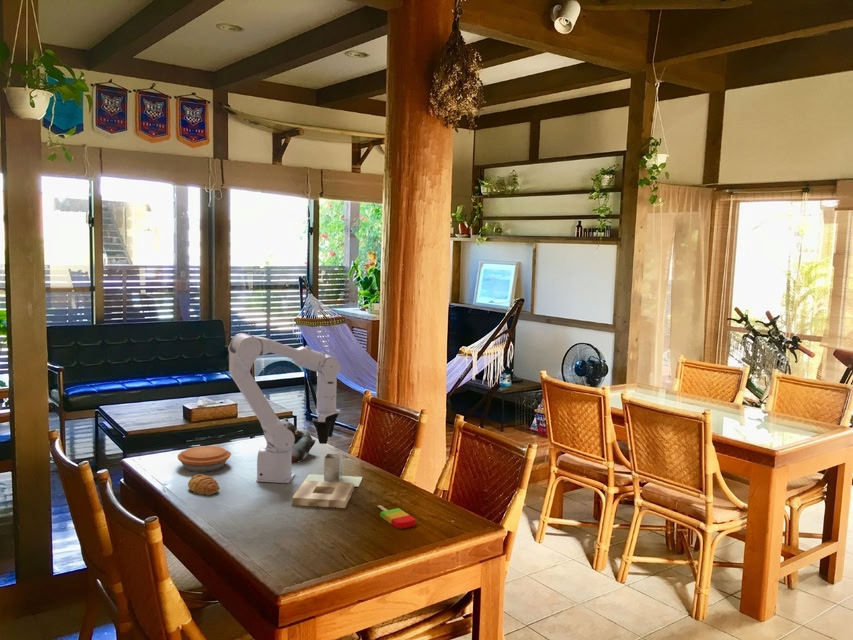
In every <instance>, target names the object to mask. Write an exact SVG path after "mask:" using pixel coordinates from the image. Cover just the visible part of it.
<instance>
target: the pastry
mask: <svg viewBox="0 0 853 640" xmlns="http://www.w3.org/2000/svg"><path fill="white" fill-rule="evenodd" d="M187 487H188V488H189V490H190V491H191V492H192V491H193V492H192V493H195V492H197V494H198V493H201V494H200V495H202V494H206V495H207V496H210V495H213V494H216V493H219V491H220V486H219V483H218V482H217V480H216V479H214V477H212V476H210V475H205V474H201V473H199V474H195V475H194V476H193V477H191V478H190V479H189V481H188V483H187ZM206 495H205V496H206Z"/></svg>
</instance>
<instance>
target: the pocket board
mask: <svg viewBox="0 0 853 640" xmlns="http://www.w3.org/2000/svg"><path fill="white" fill-rule="evenodd" d="M354 490H355V489H354V483H345V482H326V481H307V480H305V479H304V480H303V482H302V483H301V484H300V486H299V487H298V488H297V490H296V492H295V493H294V494H293V496H292V497H291V505H292V506H300V507H301V506H302V507H317V506H319V508H321V507H322V508H323V507H324V508H335V507H336V508H338V509H346V507H347V505H348V503H349V501H350V499H351V496H352V495H353V493H354ZM352 492H353V493H352ZM351 494H352V495H351Z"/></svg>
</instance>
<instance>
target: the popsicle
mask: <svg viewBox="0 0 853 640" xmlns="http://www.w3.org/2000/svg"><path fill="white" fill-rule="evenodd" d="M377 508H378V509H380V510H381V511H380V513H379V516H380V518H382V519H383V520H384V521H386V522H388V523H389V524H390V525H391V526H392V527H395V528H397V529H407V528H411V526H412V527H415V526H416V525H417V519H416V518H415V517H413V516H412V515H410V514H409V513H407V512H405V511H404V510H402V509H401V508H399V507H397V508H392V509H387V508H385V507H384V506H382V505H381V504H380V505H377Z"/></svg>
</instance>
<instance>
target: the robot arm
mask: <svg viewBox="0 0 853 640" xmlns="http://www.w3.org/2000/svg"><path fill="white" fill-rule="evenodd" d="M227 351H228V355H229V357H228V359H229V360H228V361H229V362H228V363H229V364H228V366H229V367H228V371H229V375H230V377H231V378H232V380H233V382H234V383H235V385H236V386H237V388H238V389H239V391H240V393H241V394H242V396H243V397H244V400H246V403H247V404H248V405H249V406H250V408H251V410H252V412H253V413H254V414H255V416H256V418H257V419H258V421H259V423H260V427H261V428H262V431H263V437H264V439H265V441H267V442H268V443H266V446H265V447H261V448H259V450H258V451H257V457H256V458H257V459H256V479H255V480H256V482H258V483H259V482H262V483H275V484H276V483H278V484H279V483H280V484H289V483H290V482H291V481H292V480H293V478H294V477H295V475H296V473H295V472H292V462H291V457H292V446H293V444H294V441H295V437H294V434H293V433H292V432H291V431H290V430H288V429H286V428H285V426H284V424H283V423H282V422H281V419H279V417H278V416H277V414H276V413H275V411H274V409H273V407H272V406H271V404H270V403H269V401H268V400H267V397H266V396H265V395H264V393H263V391H262V390H261V388H260V386H259V385H258V383H257V382H256V380H255V378H254V376H253V375H252V373H251V369H252V366H253V364H254V363H255V361H256V360H257V359H258V357H259V356H260V355H261V356H265V355H266V354H269V353H271V354H274V355H278V356H281V357H284V358H288V359H292V361H293V363H294V365H295V366H298V367H301V368H304V369H307V370H309V371H313V372H317V373H316V374H317V377H316V378H317V379H316V382H317V383H316V409H315V413H316V415H317V418H316V419H315V418H314V419H313V420H312V425H313V426H314V428H315V430H316V434H317V439H318V444H321V445H327V444H328V440H329V439H328V438H332V437H333V433H334V428H335V425H336V424H335V423H336V422H337V419H338V417H339V414H340V413H341V410H340V409H337V381H338V380H337V375H338V374H339V372H340V371H341V365H340V363H339V361H338V359H337V358H336V357H335V356H331V355H329V354H326V352H325V351H322V350H321V351H317V350H314V349H312V346H308V345H305V346H303V345H302V346H299V347H297V348H294V347H292V346H289V345H287V344H283V343H281V342H278V341H275V340H273V339H270V338H267V337H264V336H259V335H254V334H251V335H250V334H247V333H244V332H240V333H237V334H234V336H233V337H232V338H231V341H230V343H229V345H228V348H227Z"/></svg>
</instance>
